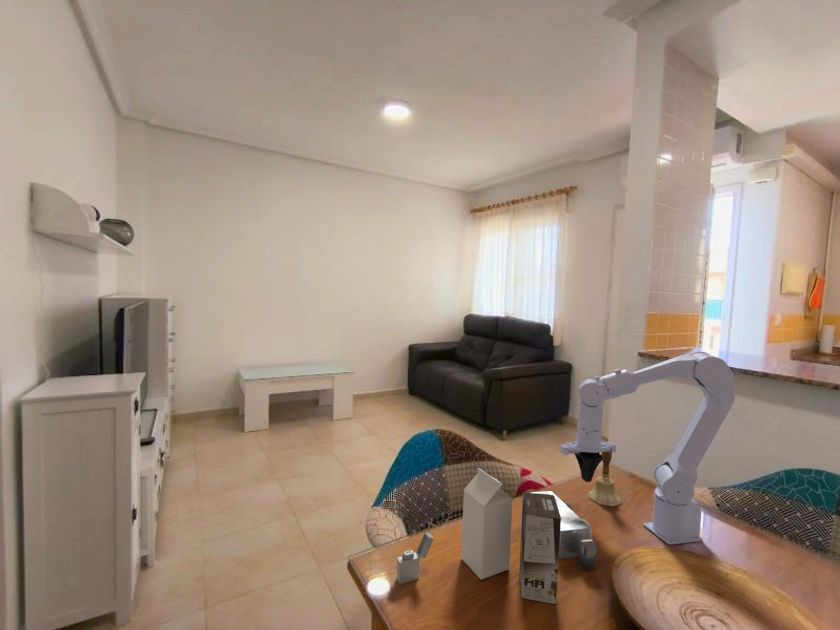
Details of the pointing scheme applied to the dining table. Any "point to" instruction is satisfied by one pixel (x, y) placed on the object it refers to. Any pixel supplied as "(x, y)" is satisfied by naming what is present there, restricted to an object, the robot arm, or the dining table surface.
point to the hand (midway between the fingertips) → (586, 480)
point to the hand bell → (605, 486)
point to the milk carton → (486, 526)
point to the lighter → (412, 560)
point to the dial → (587, 554)
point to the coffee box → (539, 547)
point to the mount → (569, 530)
